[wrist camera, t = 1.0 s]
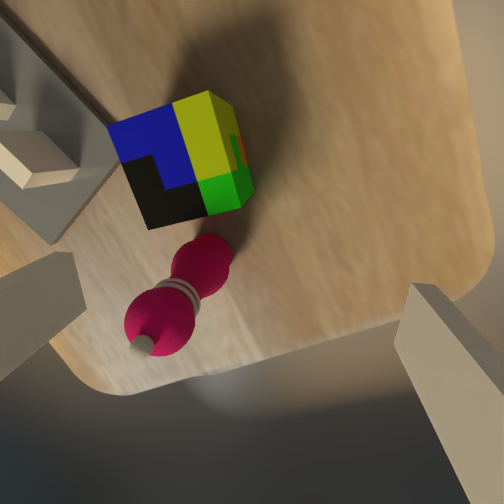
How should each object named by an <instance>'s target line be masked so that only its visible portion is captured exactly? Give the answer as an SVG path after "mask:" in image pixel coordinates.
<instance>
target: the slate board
mask: <svg viewBox="0 0 504 504" xmlns="http://www.w3.org/2000/svg"><path fill="white" fill-rule="evenodd" d="M0 90H1V91H2V92H3V93H4V94H5V95H6V96H7V97H8V98H9V99H10V100H11V101H12V102H13V103H14V104H15V105H16V107H15V108H14V110H13V112H12V114H11V116H10V117H9V119H8V121H7V120H0V129H6V130H25V131H43V132H44V133H45V134H46V135H47V136H48V137H49V138H50V139H51V140H52V141H53V142H54V143H55V144H56V145H57V146H58V147H59V148H60V149H61V150H62V151H63V152H64V153H65V154H66V155H67V156H68V157H69V158H70V159H71V160H72V161H73V162H74V163H75V164H76V165H77V166H78V167H79V168H80V169H79V170H78V172H77V173H76V174H75V176H74V177H73V178H72V180H71V181H69V182H63V183H57V184H51V185H45V186H39V187H33V188H26V189H22V188H21V187H19V186H18V185H17V184H16V183H15V182H14V181H13V180H12V179H11V178H10V177H9V176H8V175H6V174H5V173H4V172H3V171H2V170H1V169H0V201H1V202H3V203H4V204H5V205H6V206H7V207H8V208H9V209H10V210H11V211H13V212H14V213H15V214H16V215H17V216H18V217H19V218H20V219H21V220H23V221H24V222H25V223H26V224H27V225H28V226H29V227H30V228H31V229H33V230H34V231H35V232H36V233H37V234H38V235H39V236H40V237H41V238H43V239H44V240H45V241H46V242H47V243H48V244H49V245H50V246H51V245H53V244H55V243H57V242H58V241H59V240H60V238H61V237H62V236H63V235H64V233H65V232H66V231H67V230H68V228H69V227H70V226H71V225H72V223H73V222H74V221H75V220H76V218H77V217H78V216H79V215H80V213H81V212H82V211H83V210H84V208H85V207H86V206H87V205H88V203H89V202H90V201H91V200H92V198H93V197H94V196H95V195H96V193H97V192H98V191H99V190H100V188H101V187H102V186H103V185H104V183H105V182H106V181H107V180H108V178H109V177H110V176H111V175H112V173H113V172H114V171H115V170H116V168H117V167H118V166H119V165H120V163H121V162H120V160H119V157H118V155H117V152H116V150H115V147H114V145H113V142H112V140H111V137H110V135H109V133H108V130H107V128H106V126H108V125H109V124H108V123H107V122H106V121H105V120H104V119H103V118H102V117H101V116H100V115H99V114H98V113H97V112H96V110H95V109H94V108H93V107H92V106H91V105H90V104H89V103H88V102H87V101H86V100H85V99H84V98H83V97H82V96H81V95H80V94H79V93H78V92H77V90H76V89H75V88H74V87H73V86H72V85H71V84H70V83H69V82H68V81H67V80H66V79H65V78H64V77H63V76H62V75H61V74H60V73H59V72H58V71H57V69H56V68H55V67H54V66H53V65H52V64H51V63H50V62H49V61H48V60H47V59H46V58H45V57H44V56H43V55H42V54H41V53H40V52H39V51H38V49H37V48H36V47H35V46H34V45H33V44H32V43H31V42H30V41H29V40H28V39H27V38H26V37H25V36H24V35H23V34H22V33H21V32H20V31H19V29H18V28H17V27H16V26H15V25H14V24H13V23H12V22H11V21H10V20H9V19H8V18H7V17H6V16H5V15H4V14H3V13H2V12H1V11H0Z"/></svg>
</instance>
